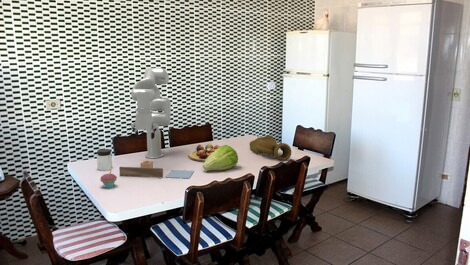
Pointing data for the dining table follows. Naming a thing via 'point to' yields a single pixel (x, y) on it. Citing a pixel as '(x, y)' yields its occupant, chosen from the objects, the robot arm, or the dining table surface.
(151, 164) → the lettered cube
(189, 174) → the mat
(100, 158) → the jar
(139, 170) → the walnut screen
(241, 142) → the dining table surface
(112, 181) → the cupcake
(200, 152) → the wooden plate with food
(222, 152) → the lettuce
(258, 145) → the brown looped sculpture
